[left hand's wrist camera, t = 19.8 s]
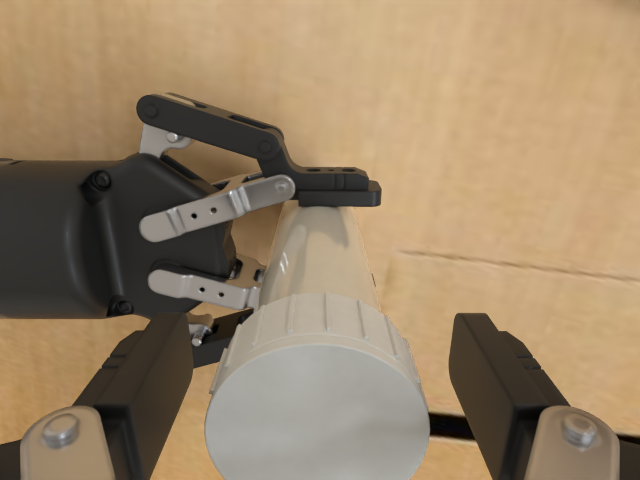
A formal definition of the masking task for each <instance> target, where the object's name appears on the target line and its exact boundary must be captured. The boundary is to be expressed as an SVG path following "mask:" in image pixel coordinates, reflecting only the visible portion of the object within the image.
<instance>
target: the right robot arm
mask: <svg viewBox="0 0 640 480" xmlns="http://www.w3.org/2000/svg"><path fill="white" fill-rule="evenodd" d="M136 109H137V114H138V116H139V118H140V119H141V121H142V122H144V125H143V131H142V137H141V143H140V149H139V152H138V153H136V154H133V155H131V156H129V157H127V158H126V159H124V160H120V161H16V160H13V159H7V158H0V319H106V318H112V317H117V316H122V315H129V314H134V315H139V316H143V317H145V318H148V319H150V320H151V319H152V318H153V316H154V315H155V314H156V313H158V312H184V313H186V315H187V318H188V323H189V331H190V339H191V346H192V354H193V368H197V367H201V366H205V365H208V364H212V363H216V362H220V359H221V357H222V354H223V351H224V348H226V349H228V347H229V344H230V341H231V340H232V338H233V336H234V334H235V331H236V328H237V326H238V325H239V324H241V325H242V323H243V322H244V321H245V320H247V319H248V318H249V317H250V316H251V315H252V314H253V312H254V308H255V305H256V301H257V298H258V294H259V290H260V287H261V283H262V279H263V276H264V272H265V268H266V266H264V265H261V264H260V263H259V262H258V261H257V260H255V259H253V258H249V257H246V256H242V255H238V254H236V247H235V245H234V242H233V239H232V236H231V228H232V223H233V219H236V218H239V217H241V216H243V215H245V214H247V213H248V212H250V211H253V210H257V209H260V208H264V207H268V206H271V205H275V204H278V203H282V202H285V201H288V200H298V207H314V206H321V207H375V206H379V205H381V190H382V189H381V187H380V185H379V184H378V182H376V181H372V180H369V178H368V176H367V174H366V172H365V171H363V170H360V169H358V168H356V167H301V166H298V165H297V164H295V163H294V162H293V161H292V160H291V158H290V156H289V154H288V151H287V149H286V146H285V143H284V135H283V133H282V131H281V130H280V129H279V128H277V127H275V126H272V125H269V124H266V123H263V122H260V121H257V120H254V119H251V118H248V117H245V116H242V115H238V114H235V113H232V112H229V111H226V110H223V109H220V108H217V107H214V106H211V105H208V104H204V103H201V102H198V101H195V100H192V99H189V98H186V97H183V96H180V95H177V94H174V93H160V94H152V95H146V96H143V97H142V98H141V99H140V100H139V101H138V103H137V107H136ZM195 140H197V141H201V142H204V143H207V144H210V145H213V146H217V147H220V148H223V149H226V150H229V151H233V152H236V153H239V154H242V155H245V156H249V157H252V158H255V159H257V161H258V163H259V166H260V168H261V170H260V171H257V172H253V173H249V174H247V173H246V174H241V175H237V176H234V177H230V178H227V179H223V180H220V181H217V182H213V183H208V182H207V181H205V180H204V179H202V178H201V177H199V176H198V175H196V174H195V173H193V172H192V171H190V170H189V169H187V168H186V167H184V166H183V165H181V164H180V163H178V162H177V161H175V160H174V159H172V158H171V157H169V156H168V155H167V152H168V150H169V149H170V148H174V149H183V148H185V147H187V146H189V145H191V144H192V143H193V142H194V141H195ZM372 277H373V275H372ZM229 278H233V279H229ZM373 281H374V278H373ZM374 285H375V282H374ZM375 287H376V286H375ZM202 302H207V303H211V304H214V305H218V306H222V307H226V308H230V309H234V310H244V309H246V308H252V309H248V310H244V311H241V312H237V313H233V314H230V315H226V316H223V317H219V318H215V319H213V318H212V316H211V315H210V314H205V315H193V314H191V313H190V312H189V311H190V310H192V309H193V308H195V307H196V306H198V305H199V304H201V303H202Z"/></svg>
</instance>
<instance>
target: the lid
mask: <svg viewBox="0 0 640 480" xmlns="http://www.w3.org/2000/svg"><path fill="white" fill-rule="evenodd" d="M420 382H421V381H420V378H419V375H418V372H417V369H416V366H415V363H414V360H413V357H412V354H411V351H410V348H409V345H408V342H407V339H406V338H404V339H403V338H402V336H401V335H400V333H399V331H398V330H397V329H396V327H395V326H394V325H393V324H392V323H391V321H390V318H389V317H388V316H386V317H385V316H384V315H383V314H382V313H380V312H379V311H377V310H376V309H374V308H373V307H371V306H369V305H367V304H365V303H363V301H362V300H360V299H359V300H356V299H353V298H351V297H348V296H343V295H339V294H333V293H330V292H326V293H323V292H315V293H302V294H291V296H288V297H284V298H281V299H279V300H276V301H273V302H271V303H269V304H268V305H266V306H265V305H262V306H261V307H260V309H259V310H258V311H256V312H255V313H253V314H252V315H251V316H250V317H249V318H248V319H247V320H245V321H244V322H243V323H242V325H241V324H239V325H238V326H237V328H236V331H235V334H234V336H233V338H232V340H231V341H230V344H229V347H228V349H226V348H224V351H223V354H222V357H221V359H220V362H219V365H218V368H217V371H216V374H215V377H214V380H213V383H212V386H211V388H210V391H209V394H212V397H211V400H210V403H209V406H208V409H207V413H206V418H205V432H204V433H205V440H206V446H207V449H208V452H209V455H210V457H211V459H212V461H213V463H214V465H215V467H216V468H217V470H218V471H219V473H220V474H221V476H222V477H223V478H224V479H225V480H409V479H410V478H411V477H412V476H413V474H414V473H415V472H416V470H417V469H418V467H419V466H420V464H421V462H422V460H423V458H424V456H425V453H426V450H427V446H428V442H429V434H430V425H429V416H428V412H427V411H428V405H427V402H426V399H425V396H424V393H423V390H422V387H421V384H420Z"/></svg>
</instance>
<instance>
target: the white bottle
mask: <svg viewBox="0 0 640 480" xmlns="http://www.w3.org/2000/svg"><path fill="white" fill-rule="evenodd" d="M315 292H323V293H326V292H330V293H333V294H339V295H343V296H348V297H351V298H353V299H356V300H359V299H360V300H362V301H363V303H365V304H367V305H369V306H371V307H373V308H374V309H376V310H377V311H379V312H380V313H382V311H381V307H380V303H379V300H378V296H377V292H376V288H375V285H374V281H373V277H372V273H371V269H370V266H369V262H368V258H367V254H366V251H365V247H364V243H363V239H362V236H361V232H360V228H359V224H358V220H357V217H356V213H355V209H354V207H321V206H314V207H298V200H288V201H285V202H284V203H283V207H282V210H281V214H280V218H279V221H278V225H277V228H276V232H275V236H274V239H273V243H272V247H271V250H270V254H269V258H268V261H267V265H266V268H265V272H264V276H263V279H262V283H261V287H260V290H259V294H258V298H257V301H256V305H255V308H254V312H253V313H255V312H256V311H258V310H259V309H260V307H261V306H262V305H265V306H266V305H268V304H269V303H271V302H273V301H276V300H279V299H281V298H284V297H288V296H291V294H302V293H315Z"/></svg>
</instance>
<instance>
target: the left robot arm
mask: <svg viewBox="0 0 640 480" xmlns="http://www.w3.org/2000/svg"><path fill="white" fill-rule="evenodd" d="M192 374H193V354H192V346H191V339H190V331H189V323H188V318H187V315H186V313H184V312H158V313H156V314H155V315H154V316H153V318H152V319H151V321H150V322H149V324H148V325H147V327H146V328H145V330H144V331H135V332H133V333H132V334H130V335H129V336H127V337H126V338H125V339H123V340H122V341H120V342H119V344H118V345H117V346H116V348H115V349H114V350H113V352H112V353H111V354H110V358H107V360H106V361H105V362H104V364H103V365H102V369H99V370H98V372H97V373H96V374H95V376H94V377H93V378H92V380H91V381H90V382H89V384H88V385H87V386H86V388H85V389H84V390H83V392H82V393H81V394H80V396H79V397H78V398H77V400H76V401H75V402H74V404H73V405H72V406H71V407H66V408H62V409H59V410H57V411H54V412H52V413H50V414H48V415H46V416H44V417H43V418H41V419H40V420H38V421H37V422H36V423H34V424H33V425H32V426H31V427H30V428H29V429H28V430H27V432H26V433H25V435H24V436H23V438H22V439H21V440H17V441H13V442H9V443H5V444H1V445H0V480H150V477H151V475H152V473H153V470H154V468H155V466H156V463H157V461H158V458H159V456H160V454H161V451H162V449H163V447H164V444H165V442H166V439H167V437H168V435H169V432H170V430H171V427H172V425H173V423H174V420H175V418H176V416H177V413H178V411H179V408H180V406H181V404H182V401H183V399H184V397H185V394H186V392H187V389H188V387H189V385H190V382H191V379H192ZM449 374H450V379H451V383H452V385H453V388H454V390H455V392H456V395H457V397H458V399H459V402H460V404H461V406H462V409H463V411H464V413H465V416H466V418H467V420H468V423H469V425H470V427H471V430H472V432H473V434H474V437H475V439H476V441H477V444H478V446H479V448H480V451H481V453H482V456H483V458H484V460H485V463H486V465H487V467H488V470H489V472H490V474H491V477H492V479H493V480H640V445H637V444H633V443H629V442H625V441H621V440H618V438H617V436H616V435H615V433H614V432H613V430H612V429H611V428H610V427H609V426H608V425H607V424H606V423H604V422H603V421H602V420H600V419H599V418H597V417H596V416H594V415H592V414H590V413H588V412H586V411H583V410H581V409H578V408H574V407H571V406H570V405H569V403H568V402H567V401H566V399H565V398H564V397H563V395H562V394H561V393H560V391H559V390H558V389H557V387H556V386H555V385H554V383H553V382H552V381H551V379H550V378H549V377H548V375H547V374H546V373H545V371H544V370H541V366H540V365H539V364H538V362H537V361H536V360H535V358H533V356H532V354H531V353H530V352H529V350H528V349H527V348H526V346H525V345H524V344H523V342H521V341H520V340H518V339H517V338H515V337H514V336H513V335H511V334H510V333H508V332H507V331H498V329H497V328H496V327H495V325H494V324H493V322H492V321H491V319H490V318H489V317H488V315H487V314H486V313H457V314H456V316H455V319H454V325H453V333H452V340H451V348H450V355H449Z"/></svg>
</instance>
